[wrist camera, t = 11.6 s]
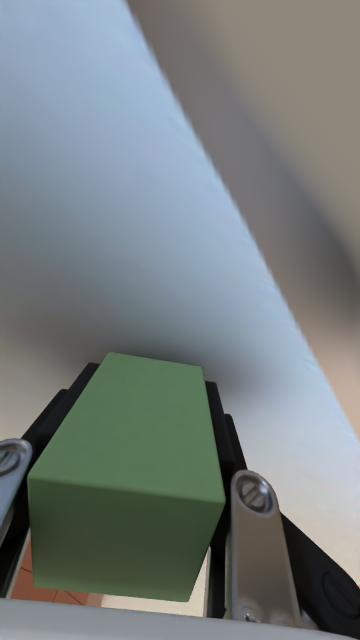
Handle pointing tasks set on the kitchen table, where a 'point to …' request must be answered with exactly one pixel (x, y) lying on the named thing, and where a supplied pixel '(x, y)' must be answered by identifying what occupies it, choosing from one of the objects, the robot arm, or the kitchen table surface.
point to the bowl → (29, 592)
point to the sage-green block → (128, 484)
